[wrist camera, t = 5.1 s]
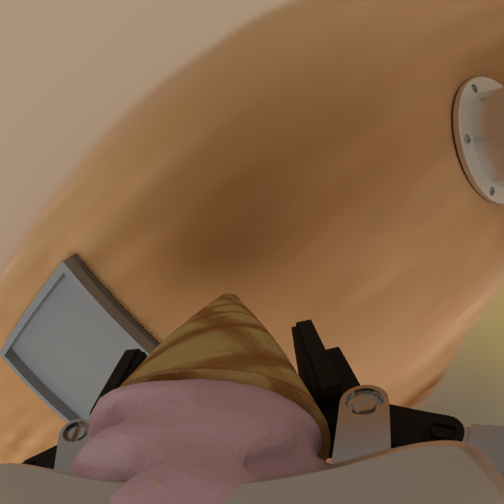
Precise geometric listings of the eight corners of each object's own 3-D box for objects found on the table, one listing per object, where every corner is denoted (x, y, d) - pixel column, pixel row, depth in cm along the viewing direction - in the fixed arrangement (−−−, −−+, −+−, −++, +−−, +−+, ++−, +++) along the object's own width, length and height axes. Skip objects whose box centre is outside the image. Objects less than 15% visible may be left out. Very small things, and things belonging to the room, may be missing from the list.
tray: (76, 254, 20) (62, 261, 18) (198, 378, 23) (196, 394, 21) (10, 343, 22) (-2, 353, 20) (108, 436, 25) (102, 450, 23)
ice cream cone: (294, 349, 17) (367, 611, 2) (192, 369, 17) (145, 618, 3) (271, 238, 15) (418, 592, 1) (155, 266, 15) (-40, 526, 1)
